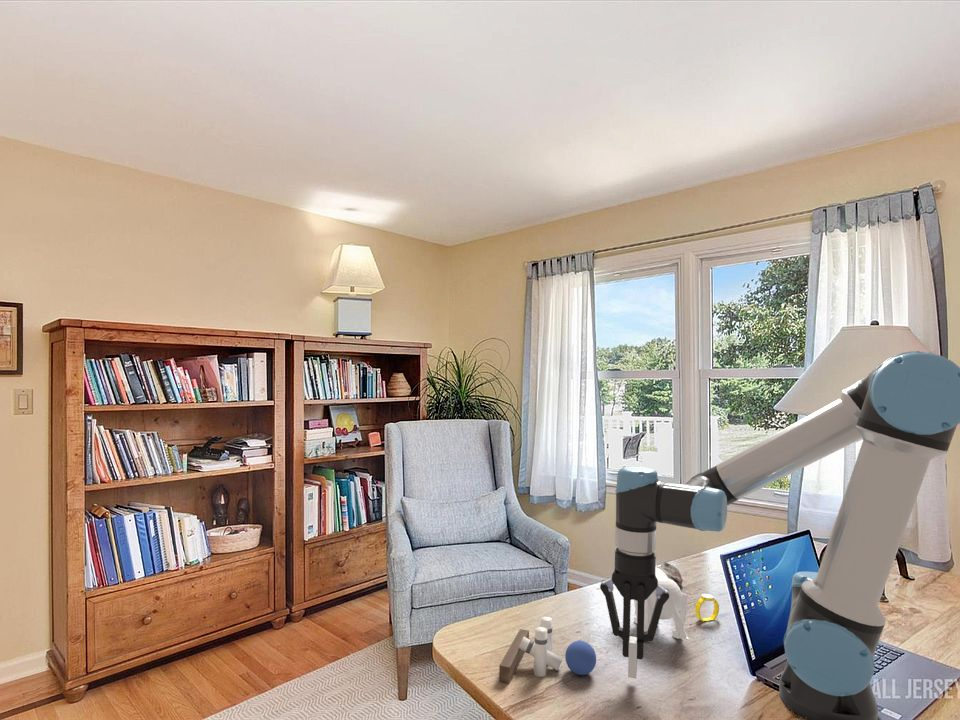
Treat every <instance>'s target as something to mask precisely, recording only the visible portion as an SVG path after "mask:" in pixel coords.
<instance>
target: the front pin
mask: <svg viewBox="0 0 960 720" xmlns="http://www.w3.org/2000/svg"><path fill="white" fill-rule="evenodd" d="M519 649H521V650H523V651H525V653H526V654H527V655H529V656H532V658H534V650H535V641H533V640H531V639H530V638H529V639H528V638H526V637H523V639H522V641H521V644H520V646H519ZM562 662H563V657H561V656H558V655H557V654H555V653H553V652H552V651H551V652H550V651H548V650H547V663H546V666H548V667H550V668H552V669H553V670H556V671H557V672H558V671H559V669H560V666H561V664H562Z"/></svg>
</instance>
